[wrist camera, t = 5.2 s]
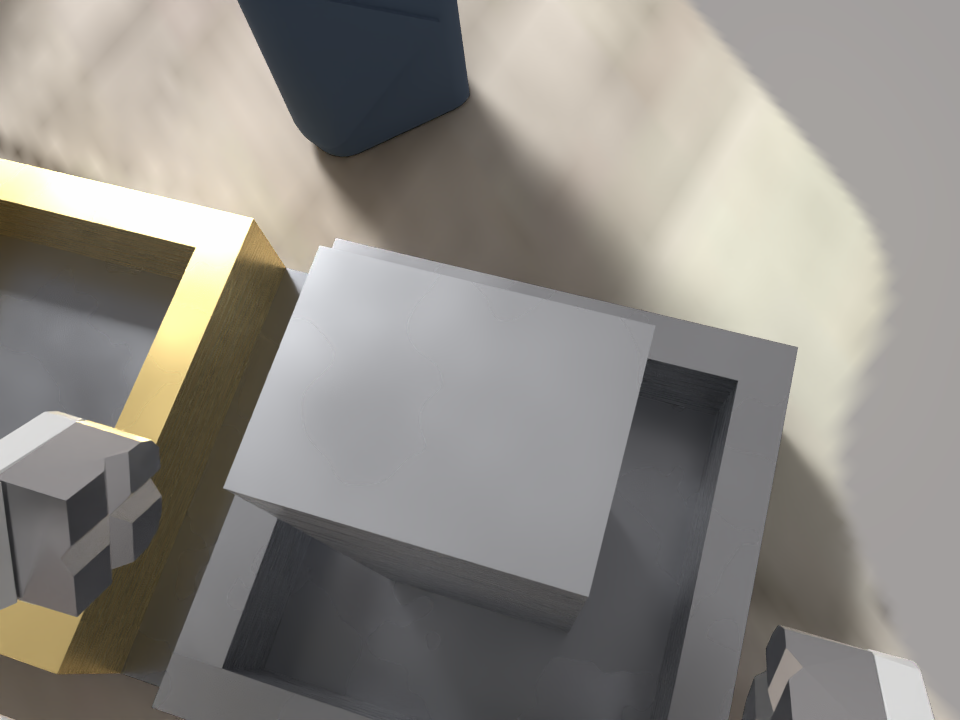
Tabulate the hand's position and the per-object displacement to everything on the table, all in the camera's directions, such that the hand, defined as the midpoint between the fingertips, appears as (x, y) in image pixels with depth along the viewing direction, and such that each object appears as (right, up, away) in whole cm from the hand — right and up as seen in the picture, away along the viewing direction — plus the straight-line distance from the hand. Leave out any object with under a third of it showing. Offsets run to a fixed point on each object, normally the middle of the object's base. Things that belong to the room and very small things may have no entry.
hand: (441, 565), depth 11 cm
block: (+1, -1, +8) cm, 8 cm away
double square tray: (-5, 0, +10) cm, 11 cm away
